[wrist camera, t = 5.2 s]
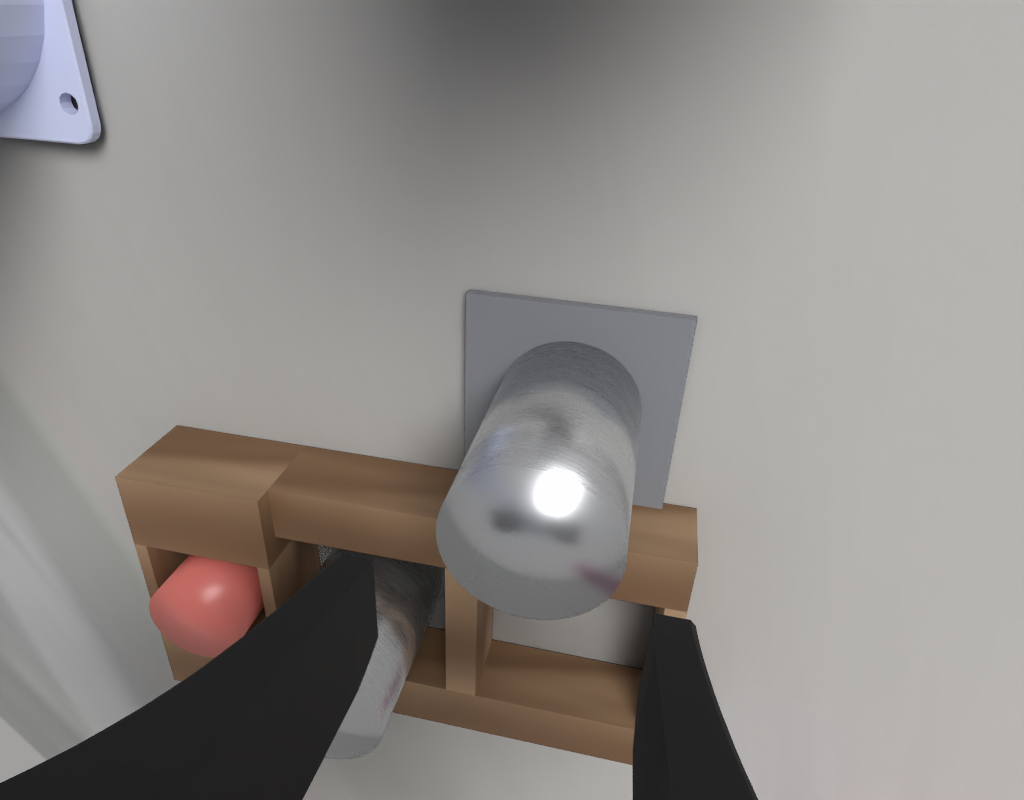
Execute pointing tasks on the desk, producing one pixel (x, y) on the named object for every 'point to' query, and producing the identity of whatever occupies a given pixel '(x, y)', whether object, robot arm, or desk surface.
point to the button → (207, 604)
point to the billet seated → (388, 647)
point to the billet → (547, 486)
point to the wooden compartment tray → (405, 536)
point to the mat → (616, 330)
